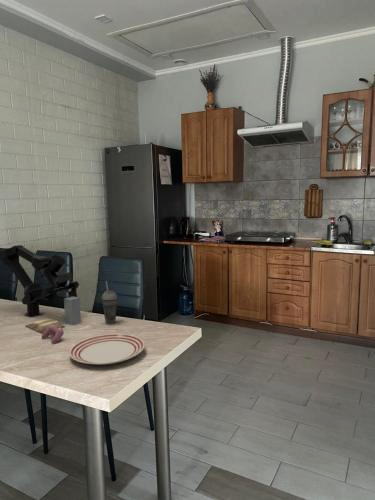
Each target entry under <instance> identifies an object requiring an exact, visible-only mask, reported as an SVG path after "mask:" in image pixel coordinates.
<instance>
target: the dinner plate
mask: <svg viewBox="0 0 375 500" xmlns="http://www.w3.org/2000/svg"><path fill="white" fill-rule="evenodd" d="M145 347H146V344H145V341H144V340H143V339H142V338H140V337H138V336H136V335H134V334H133V335H132V334H126V333H125V334H124V333H107V334H100V335H95V336H94V335H93V336H91V337H88V338H84V339H83V340H80V341H79V342H76V343H75V344H74V345H73V346H71V347H70V349H69V352H68V354H69V357H70V358H71V359H72V360H73V361H76V362H78V363H82V364H87V365H97V366H99V365H101V366H102V365H112V364H116V363H117V364H118V363H122V362H125V361H127V360H130V359H133V358H135V357H136V356H138V355H139V354H140V353H142V352H143V351H144V350H145Z"/></svg>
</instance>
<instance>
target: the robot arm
mask: <svg viewBox="0 0 375 500" xmlns="http://www.w3.org/2000/svg"><path fill="white" fill-rule="evenodd" d="M20 258H22V259H24V260H25V261H27V262H29V263H30V264H31V267H33V268H34V269H35V270H36V271H41V272H40V273H41V274H40V278H41V279H42V278H44V279H45V280H46V282H47V287H45V288H44V287H42V286H41V285H40V283H39V282H37V283H34V282H33V280H32V278H30V276H29V274H28V273H27V272H26V270H25V269H24V267H23V266H22V264H21V262H20ZM0 261H1V262H2V263H3V264H4V265H5V266H8V267H9V268H10V269H11V271H12V273H13V274H14V276H15V277H16V278H17V280H18V281H19V283H20V284H21V286H22V287H23V295H24V296H23V297H22V299H21V303H22V305H25V306H26V313H24V316H27V317H30V318H31V317H32V318H33V317H35V316H40V315H43V312H40V302H43V301H44V300H46V301H50V302H52V303H54V304H56V305H57V306H59V307H63V303H62V301H61V300H60V298H59V297H58V293H61V292H65V291H66V292H67V293H68V295H69V297H72V296H73V297H78V293H77V289H78V288H79V286H80V284H79V282H78V280H77V281H76V280H75V281H74V280H73V281H71V280H72V279H73V274H72V273H71V272H66V273H65V274H61V275H59V274H58V273H60V272H61V271H62V269H63V267H65V265H66V263H67V262H66V260H65V258H63V256H60V255H58V254H53V255H52V257H51V259H50V257H48V256H45V255H39V254H36V253H35V252H33V251H31V250H29V249H27V248H26V247H25V246H23V245H21V244H19V245H18V244H17V245H13V246H11V247H10V248H7V249H4V250H1V251H0ZM70 281H71V282H70ZM68 282H69V283H68ZM43 289H44V290H43Z"/></svg>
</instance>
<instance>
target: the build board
mask: <svg viewBox="0 0 375 500" xmlns="http://www.w3.org/2000/svg"><path fill="white" fill-rule="evenodd" d="M50 325H57V326H60V327H61V328H62V329H63V328H65V325H64V324H60V323H59V321H58V320H55V319H52V318H50V317H48V318H44V319H41V320H37V321H34V322H33V321H32V323H29V324H26V325H25V328H27V329H30V330H32V331H35V332H37V333H39V334H41V335H42V334H43V333H44V332H45V331H46V330H47V329H48V327H49V326H50Z"/></svg>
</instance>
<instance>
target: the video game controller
mask: <svg viewBox="0 0 375 500" xmlns="http://www.w3.org/2000/svg"><path fill="white" fill-rule="evenodd" d="M63 336H64V329H63V328H61V327H60V326H57V325H50V326H49V327H48V329H47V330H46V331H45V332H44V333H43V334H42V333H41V339H42V340H44V339H47V338H48V337H49V338H50V339H51V344H52V345H54V344H56V343H58V342H59V341H60V339H61V338H62V337H63Z"/></svg>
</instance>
